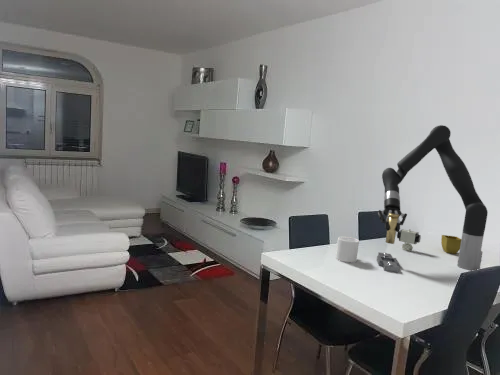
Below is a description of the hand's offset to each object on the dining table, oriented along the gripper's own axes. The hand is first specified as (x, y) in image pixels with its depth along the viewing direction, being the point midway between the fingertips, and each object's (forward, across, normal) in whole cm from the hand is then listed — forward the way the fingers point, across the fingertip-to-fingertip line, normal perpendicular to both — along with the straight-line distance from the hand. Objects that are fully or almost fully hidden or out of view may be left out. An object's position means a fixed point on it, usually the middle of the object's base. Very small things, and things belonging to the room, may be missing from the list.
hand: (392, 230), depth 185 cm
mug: (+12, -19, +13) cm, 26 cm away
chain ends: (+11, 0, +14) cm, 17 cm away
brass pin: (+3, 0, +6) cm, 7 cm away
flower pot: (-20, +41, +45) cm, 64 cm away
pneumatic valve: (-14, +16, +39) cm, 45 cm away
